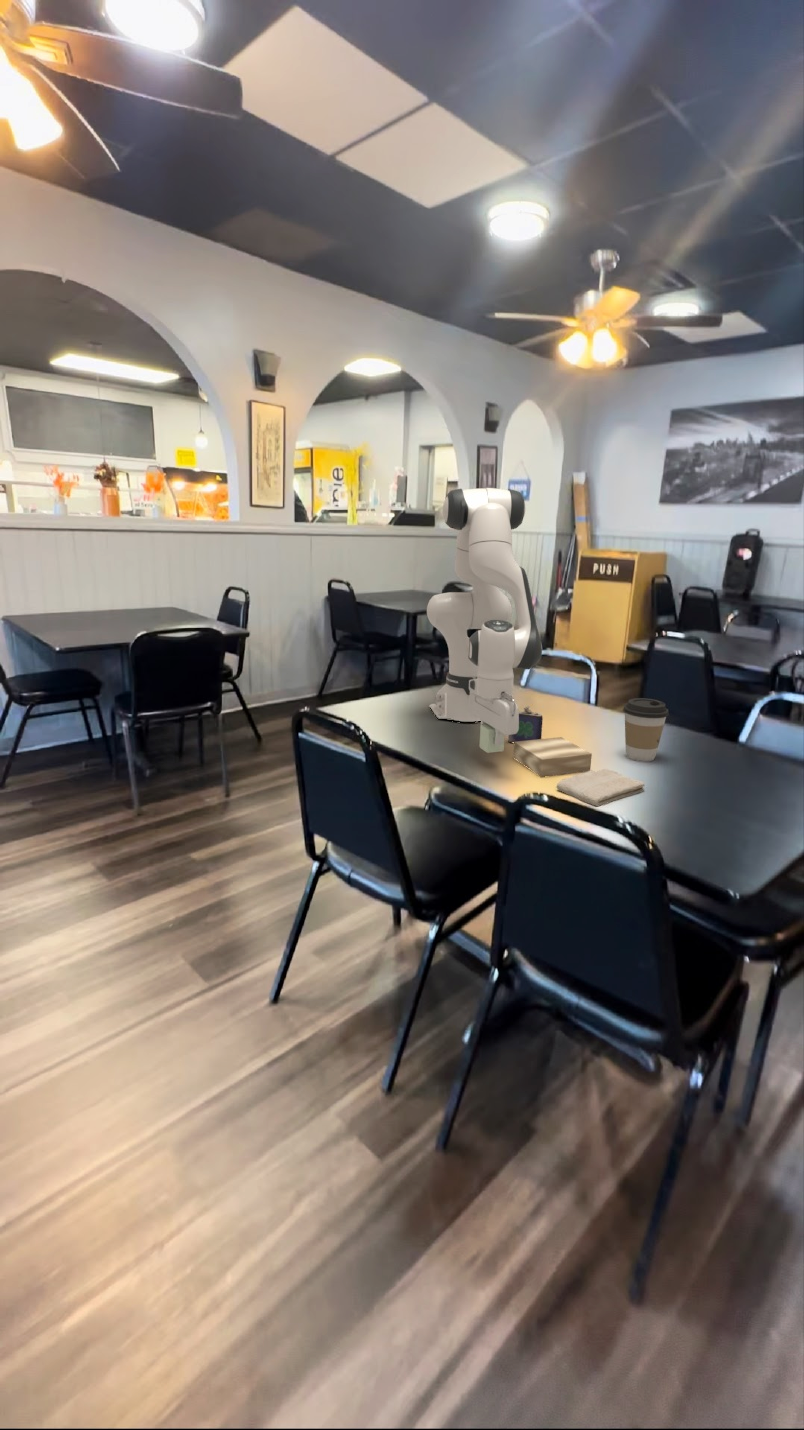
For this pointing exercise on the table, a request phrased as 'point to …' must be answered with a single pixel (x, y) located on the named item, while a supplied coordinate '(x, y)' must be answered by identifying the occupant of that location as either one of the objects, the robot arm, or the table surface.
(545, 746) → the birch block
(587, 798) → the washcloth
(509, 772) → the table surface
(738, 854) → the table surface
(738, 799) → the table surface
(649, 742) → the coffee cup
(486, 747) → the sage block
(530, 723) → the dark blue flattened pouch
